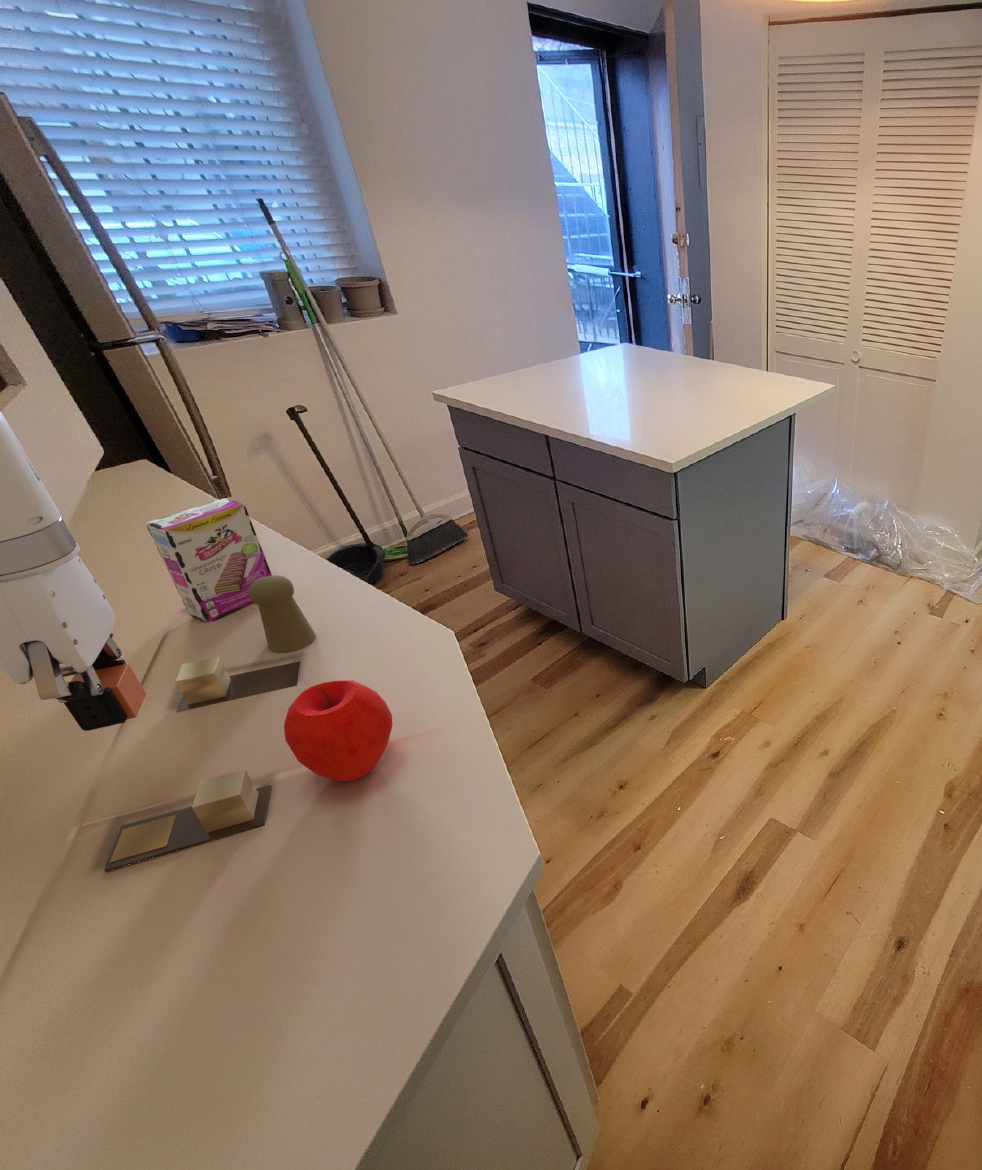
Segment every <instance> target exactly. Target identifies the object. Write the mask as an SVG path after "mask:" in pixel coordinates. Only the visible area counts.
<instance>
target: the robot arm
mask: <svg viewBox="0 0 982 1170" xmlns="http://www.w3.org/2000/svg"><path fill="white" fill-rule="evenodd" d="M80 552H81V547H80V546H79V543H78V542H77V540H76V539H75V537H74V535H73V533H72V532H71V530H70V528H69V527H68V525H67V523H66V521H65V519H64V518H63V516H62V514H61V512H60V510H59V508H58V507H57V506H56V504H55V502H54V500H53V499H52V497H51V495H50V493H49V492H48V490H47V489H46V487H45V484H44V483H43V481H42V480H41V478H40V476H39V474H38V473H37V471H36V469H35V468H34V466H33V464H32V462H31V460H30V459H29V457H28V455H27V454H26V451H25V450H24V448H23V446H22V445H21V443H20V441H19V440H18V438H17V436H16V434H15V433H14V431H13V429H12V427H11V425H10V424H9V422H8V421H7V419H6V418H5V416H4V414H3V413H2V412H1V411H0V665H1V666H2V668H3V670H4V671H5V673H6V674H7V676H8V677H9V678H10V679H11V681H12V682H14V683H15V684H17V685H25V684H28V683H30V682H31V681H32V680H33V679H34V682H35V687H36V691H37V695H38V697H39V698H40V700H42V701H47V700H57V701H58V703H60V704H64V706H65V707H66V709H67V710H68V712H69V713H70V715H71V716H72V718H73V719H74V720H75V722H76V723H77V725H78V726H79V728H80V729H81V730H82V731H85V732H88V731H95V730H97V729H102V728H107V727H111V726H117V725H120V724H123V723H125V722H126V721H127V720H128V719H127V717H128V716H127V714H126V713H125V711H124V710H123V708H122V706H121V705H120V703H119V702H118V700H117V698H116V697H115V695H114V694H113V692H112V690H111V689H110V687H107V688H103V686H102V684H101V682H100V680H99V678H98V676H97V674H96V672H95V670H98V669H104V668H109V667H114V666H119V665H124V664H127V662H126V660H125V659H122V657H123V653H122V650H121V648H120V646H118V644H117V642H116V641H115V640H114V639H113V636H114V633H112V632H113V630H114V627H115V624H116V616H115V613H114V611H113V609H112V607H111V605H110V603H109V601H108V599H107V597H106V595H105V594H104V592H103V590H102V589H101V587H100V585H99V584H98V582H97V581H96V579H95V578H94V577H93V574H92V573H91V572H90V570H89V569H88V568H87V566H86V565H85V563H84V562H83V561H82V559H81V557H79V555H78V554H79V553H80ZM61 665H65V666H61ZM80 673H81V676H82V678H83V680H84V682H81V681H73V682H71V681H66V680H65V679H64V678H66V677H69V676H70V677H71V676H74V675H75V674H80ZM126 719H127V720H126Z"/></svg>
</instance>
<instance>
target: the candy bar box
mask: <svg viewBox="0 0 982 1170" xmlns="http://www.w3.org/2000/svg"><path fill="white" fill-rule="evenodd" d="M245 504H246V503H243V502H239V501H236V500H232V499H229V498H227V497H225V498H221V499H217V500H214V501H211V502H208V503H205V504H201V505H198V506H195V507H192V508H189V509H186V510H182V511H178V512H176V513H173V514H169V515H167V516H163V517H160V518H157V519H153V520H150V521H147V522H145V523H144V524H145V526H146V528H147V531H148V533H149V534H150V536H151V538H152V540H153V542H154V545H155V546H156V549H157V551H158V553H159V555H160V557H161V559H162V562H163V563H164V565H165V567H166V569H167V572H168V573H169V576H170V578H171V580H172V582H173V585H174V586H175V588H176V590H177V592H178V595H179V597H180V599H181V600H182V603H183V605H184V607H185V609H186V611H187V613H188V615H189V616H190V617H193V618H194V619H195V618H196V619H198V620H200V621H202V622H206V623H211V622H213V621H216V620H217V619H220V618H221V617H224V616H226V615H228V614H231V613H233V612H235V611H238V610H239V609H242V608H244V607H246V606H248V605H250V604H253V602H252V600H251V599H250V597H249V594H248V589H249V586H250V584H252V583H253V582H254V581H256V580H258V579H260V578H263V577H267V576H273V574H272V571H271V569H270V566H269V564H268V561H267V559H266V555H265V552H264V551H263V549H262V546H261V544H260V543H261V542H260V540H259V538H258V535H257V533H256V530H255V527H254V525H253V522H252V520H251V517H250V515H249V512H248V508H247V507H246V505H245Z"/></svg>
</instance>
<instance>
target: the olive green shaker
mask: <svg viewBox="0 0 982 1170" xmlns="http://www.w3.org/2000/svg"><path fill="white" fill-rule="evenodd" d="M294 593H295V587H294V584H293V582H292V581H291V580H290V579H289V578H287V577H285V576H284V575H278V574H277V575H273V574H272V576H267V577H263V578H260V579H258V580H256V581H254V582H253V583H252V584H250V586H249V589H248V594H249V597H250V599H251V600H252V604H255V605H256V606H258V609H259V610H258V611H259V614H260V618H261V623H262V626H263V631H264V635H265V639H266V644H267V647H268V650H269V651H270V652H272V653H274V654H288V653H294V652H297V651H300V650H303V649H305V648H307V647H309V646H310V645H311V644H313V642H314V641H315V640H316V638H317V634H316V633H315V631H314V629H313V627H312V626H311V623H309V621H308V619H307V618H306V615H304V613H303V612H302V610H301V608H300V606H299V605H298V603H297V601H296V600H295V598H294Z"/></svg>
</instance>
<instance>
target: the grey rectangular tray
mask: <svg viewBox="0 0 982 1170" xmlns="http://www.w3.org/2000/svg"><path fill="white" fill-rule="evenodd" d="M222 661H223V660H222V659H221V657H220V656H217V657H216V656H215V657H211V658H206V659H200V660H196V661H191V662H186V663H182V664H181V665H180V667H179V671H178V673H177V674H176V675H177V676H176V678H175V681H174V682H175V685H176V686H177V688H178V690H179V691H180V694H181V695H182V697H181V699H180V702H179V704H178V707H177V709H176V713H180V712H185V711H189V710H193V709H199V708H203V707H207V706H212V705H216V704H220V703H224V702H230V701H233V700H238V699H243V698H247V697H253V696H257V695H261V694H265V693H271V692H274V691H279V690H283V689H288V688H293V687H296V686H298V682H299V676H300V671H301V670H300V669H301V663H302V661H301V660H299V661H295V662H289V663H285V664H281V665H275V666H271V667H265V668H260V669H255V670H251V671H247V672H242V673H238V674H237V673H236V674H233V675H229V672H228V671H227V669H226V666H225V665H224V663H223V662H222Z"/></svg>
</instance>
